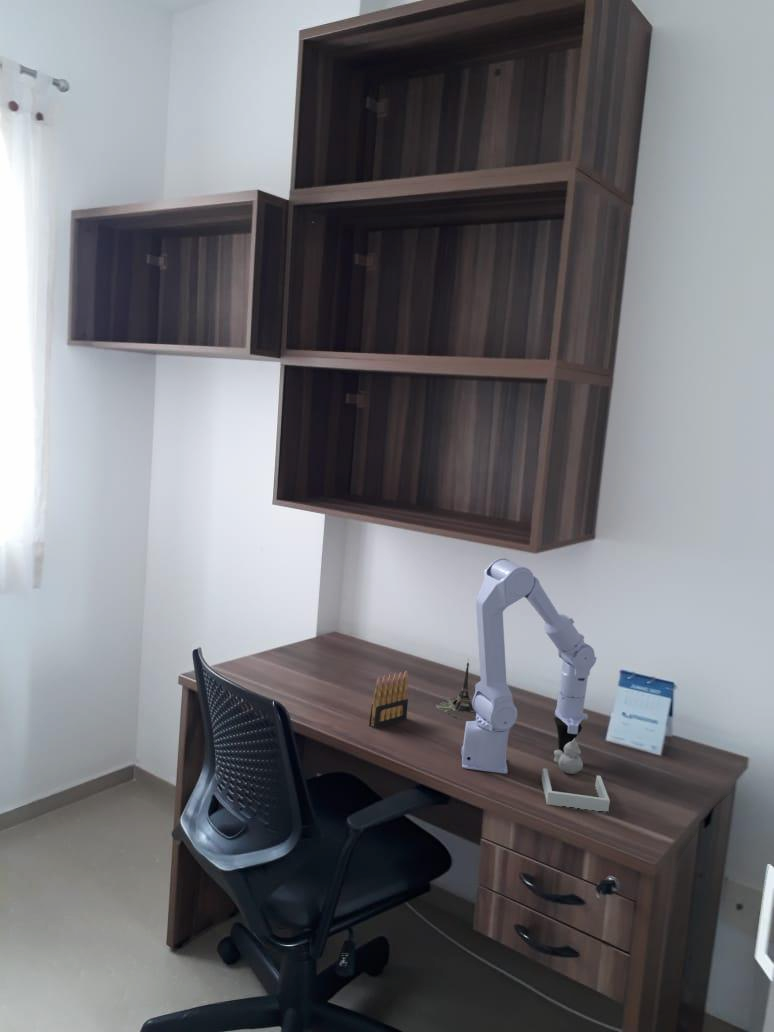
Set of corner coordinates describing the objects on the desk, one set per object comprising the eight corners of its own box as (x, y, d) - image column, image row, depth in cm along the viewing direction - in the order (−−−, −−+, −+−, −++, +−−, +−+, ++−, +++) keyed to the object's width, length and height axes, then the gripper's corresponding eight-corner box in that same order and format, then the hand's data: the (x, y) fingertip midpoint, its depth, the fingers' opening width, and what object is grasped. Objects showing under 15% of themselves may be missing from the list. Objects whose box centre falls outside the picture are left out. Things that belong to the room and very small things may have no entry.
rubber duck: (575, 780, 170) (580, 744, 169) (546, 769, 174) (551, 734, 173) (586, 772, 175) (591, 737, 174) (558, 762, 179) (562, 727, 177)
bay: (546, 804, 158) (548, 792, 158) (541, 779, 169) (543, 768, 169) (608, 812, 157) (609, 800, 157) (598, 787, 168) (600, 775, 168)
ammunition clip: (401, 716, 196) (406, 668, 194) (406, 719, 195) (411, 671, 193) (368, 725, 188) (373, 675, 187) (374, 728, 187) (379, 678, 185)
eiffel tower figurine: (462, 696, 215) (468, 648, 213) (494, 708, 209) (500, 658, 207) (427, 708, 204) (433, 657, 202) (460, 722, 197) (466, 669, 196)
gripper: (595, 707, 171) (587, 768, 173) (585, 684, 185) (577, 741, 187) (561, 703, 171) (553, 764, 173) (554, 681, 186) (546, 737, 188)
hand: (563, 752), depth 180 cm, fingers closed
